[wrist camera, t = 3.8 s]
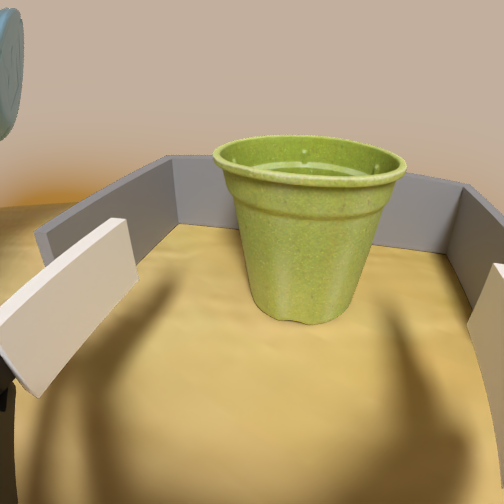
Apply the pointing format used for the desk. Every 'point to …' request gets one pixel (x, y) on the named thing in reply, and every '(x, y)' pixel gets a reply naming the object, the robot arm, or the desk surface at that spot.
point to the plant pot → (306, 217)
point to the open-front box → (224, 215)
